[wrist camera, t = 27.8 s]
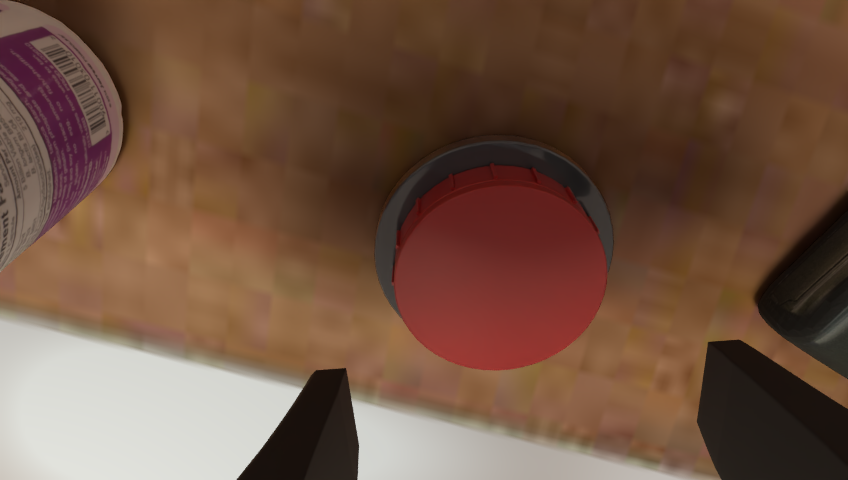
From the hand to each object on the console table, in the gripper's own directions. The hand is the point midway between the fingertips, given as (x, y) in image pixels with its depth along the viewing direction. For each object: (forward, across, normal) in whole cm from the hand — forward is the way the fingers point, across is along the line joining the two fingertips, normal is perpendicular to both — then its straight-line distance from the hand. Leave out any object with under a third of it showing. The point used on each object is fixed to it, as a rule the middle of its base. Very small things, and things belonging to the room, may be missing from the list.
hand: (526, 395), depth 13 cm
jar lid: (+5, 0, 0) cm, 5 cm away
